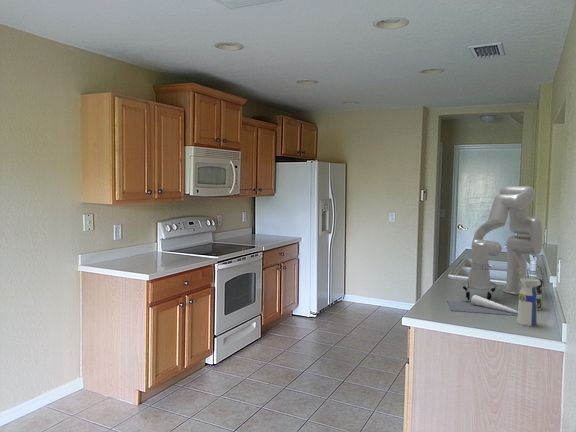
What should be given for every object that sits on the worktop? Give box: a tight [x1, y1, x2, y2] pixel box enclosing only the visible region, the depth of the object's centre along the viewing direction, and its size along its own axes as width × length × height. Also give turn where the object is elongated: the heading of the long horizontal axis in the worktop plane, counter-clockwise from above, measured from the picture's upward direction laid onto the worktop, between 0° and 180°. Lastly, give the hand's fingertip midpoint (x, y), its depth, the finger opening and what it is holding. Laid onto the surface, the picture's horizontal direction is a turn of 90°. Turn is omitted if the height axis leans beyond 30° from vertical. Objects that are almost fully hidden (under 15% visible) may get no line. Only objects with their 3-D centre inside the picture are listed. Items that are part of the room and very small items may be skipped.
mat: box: [447, 300, 518, 317], centre depth 222 cm, size 30×18×1 cm, turn 77°
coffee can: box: [517, 276, 544, 311], centre depth 224 cm, size 10×10×14 cm
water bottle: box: [516, 266, 541, 327], centre depth 198 cm, size 8×9×25 cm
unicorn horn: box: [470, 294, 518, 314], centre depth 219 cm, size 5×24×5 cm, turn 37°
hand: (478, 300), depth 233 cm, fingers open, 9 cm apart
